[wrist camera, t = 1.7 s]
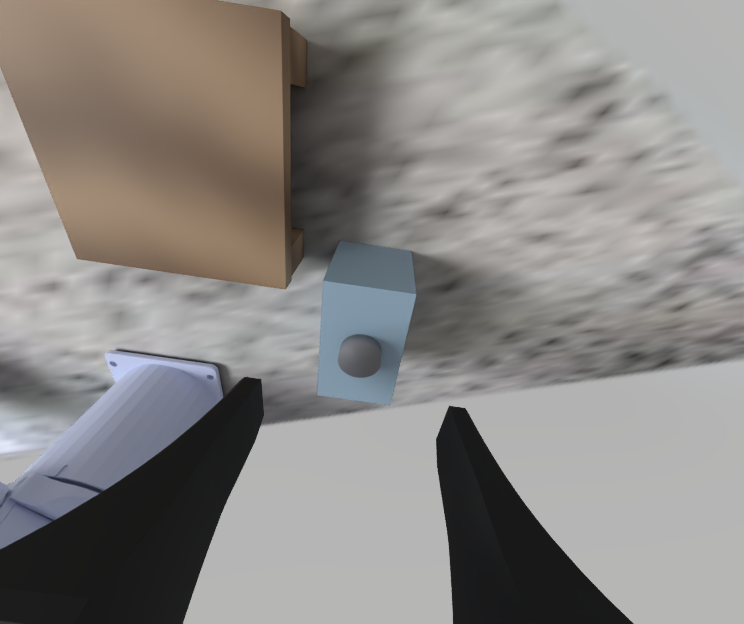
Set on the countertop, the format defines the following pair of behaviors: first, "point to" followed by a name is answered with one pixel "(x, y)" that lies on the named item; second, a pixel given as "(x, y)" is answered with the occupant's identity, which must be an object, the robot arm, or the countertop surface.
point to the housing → (364, 321)
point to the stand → (163, 130)
